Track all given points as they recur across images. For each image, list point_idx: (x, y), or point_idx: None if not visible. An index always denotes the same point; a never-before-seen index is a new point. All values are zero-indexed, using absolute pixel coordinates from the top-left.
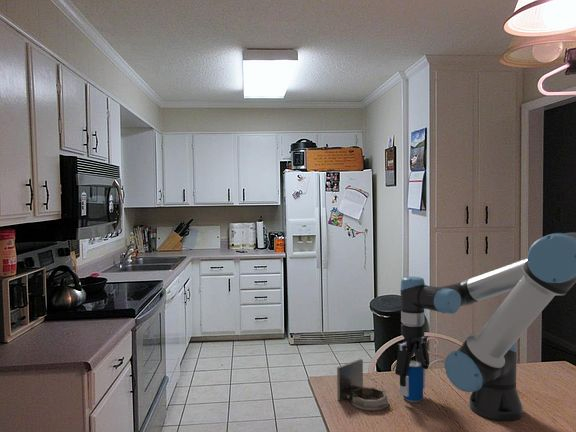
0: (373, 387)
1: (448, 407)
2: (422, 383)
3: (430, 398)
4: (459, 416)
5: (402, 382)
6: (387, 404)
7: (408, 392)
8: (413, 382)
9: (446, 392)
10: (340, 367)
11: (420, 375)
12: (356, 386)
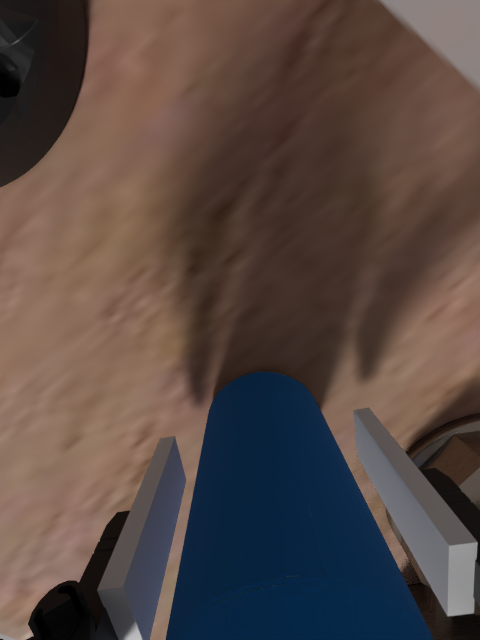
0: (426, 581)
1: (173, 233)
2: (242, 437)
3: (171, 373)
4: (216, 99)
5: (466, 506)
6: (448, 431)
7: (367, 424)
8: (344, 470)
9: (26, 378)
10: None
11: (289, 502)
12: (463, 628)
